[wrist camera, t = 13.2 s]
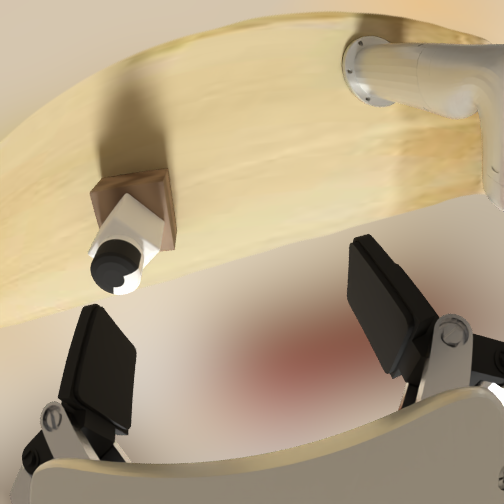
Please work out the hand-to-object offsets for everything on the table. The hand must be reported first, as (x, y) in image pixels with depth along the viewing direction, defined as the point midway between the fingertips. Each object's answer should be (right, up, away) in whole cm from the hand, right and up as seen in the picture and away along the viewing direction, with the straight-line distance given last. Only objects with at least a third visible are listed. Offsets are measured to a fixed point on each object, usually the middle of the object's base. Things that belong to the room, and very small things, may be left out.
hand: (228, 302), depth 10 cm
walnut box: (-17, +10, +32) cm, 37 cm away
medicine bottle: (-16, +6, +27) cm, 32 cm away
